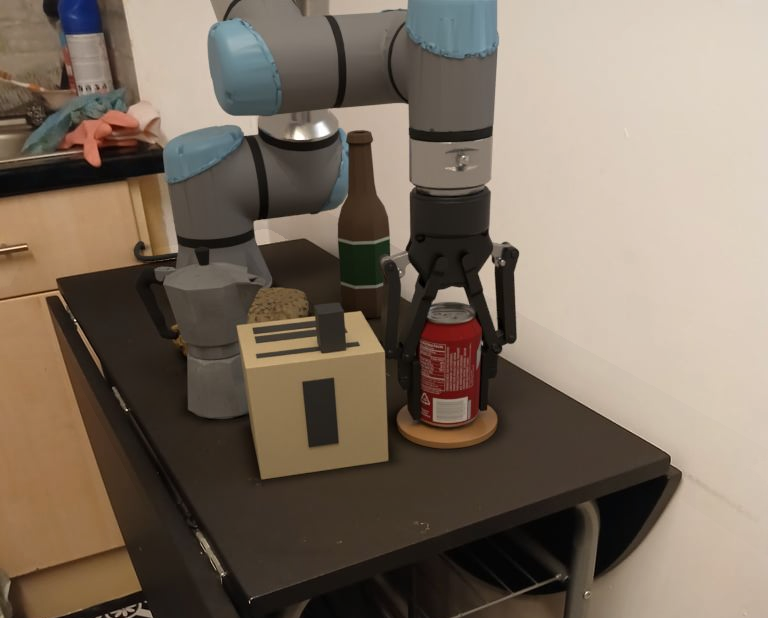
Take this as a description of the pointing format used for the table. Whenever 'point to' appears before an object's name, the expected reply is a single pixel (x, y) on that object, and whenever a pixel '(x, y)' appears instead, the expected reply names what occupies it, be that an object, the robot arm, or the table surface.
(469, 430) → the coaster
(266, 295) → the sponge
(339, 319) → the browning slider
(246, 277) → the coffeepot
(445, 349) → the soda can
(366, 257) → the beer bottle
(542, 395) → the table surface
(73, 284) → the table surface
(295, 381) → the toaster
